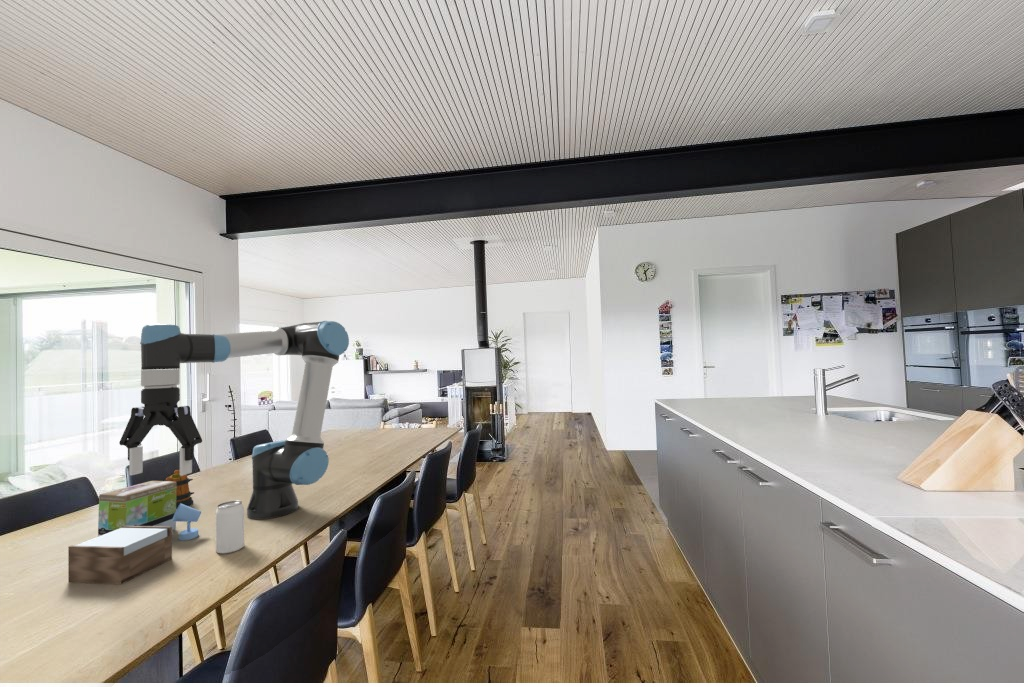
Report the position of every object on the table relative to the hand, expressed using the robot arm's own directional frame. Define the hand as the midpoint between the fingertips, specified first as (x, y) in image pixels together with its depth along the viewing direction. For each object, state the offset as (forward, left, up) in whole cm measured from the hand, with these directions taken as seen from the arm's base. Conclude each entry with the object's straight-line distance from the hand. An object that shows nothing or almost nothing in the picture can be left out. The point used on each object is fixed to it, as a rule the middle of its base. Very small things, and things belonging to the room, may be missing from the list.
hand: (160, 474), depth 109 cm
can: (-12, -9, -23) cm, 28 cm away
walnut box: (+10, -3, -23) cm, 25 cm away
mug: (+23, -58, -23) cm, 67 cm away
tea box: (+18, -26, -23) cm, 39 cm away
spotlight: (+4, -22, -23) cm, 32 cm away
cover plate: (+10, -3, -17) cm, 20 cm away
